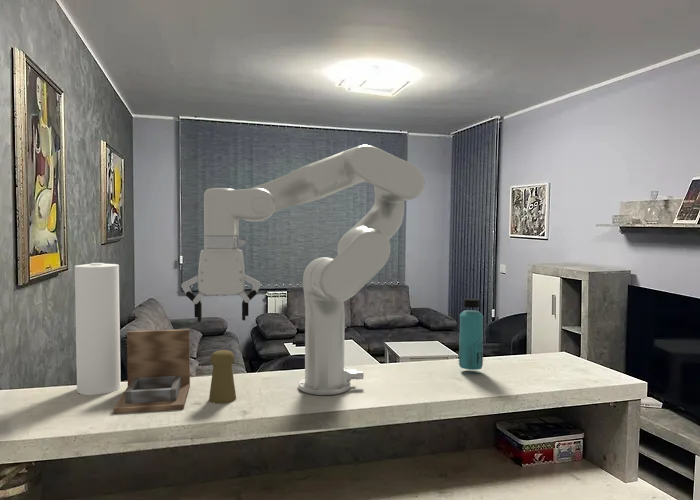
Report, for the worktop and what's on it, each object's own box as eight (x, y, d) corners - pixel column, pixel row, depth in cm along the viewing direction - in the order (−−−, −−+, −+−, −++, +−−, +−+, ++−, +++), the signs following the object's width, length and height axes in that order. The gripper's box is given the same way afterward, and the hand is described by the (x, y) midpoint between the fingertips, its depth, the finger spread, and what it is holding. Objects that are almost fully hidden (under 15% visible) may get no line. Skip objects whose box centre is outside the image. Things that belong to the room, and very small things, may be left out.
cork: (233, 403, 117) (233, 354, 116) (205, 403, 116) (205, 354, 116) (238, 394, 123) (238, 347, 122) (212, 394, 123) (212, 347, 122)
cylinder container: (82, 397, 120) (80, 265, 118) (72, 387, 127) (70, 262, 125) (125, 389, 126) (123, 263, 124) (114, 380, 133) (112, 261, 131)
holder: (189, 386, 129) (189, 329, 128) (183, 409, 113) (183, 344, 112) (128, 389, 126) (127, 331, 125) (113, 413, 110) (112, 347, 109)
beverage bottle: (478, 376, 139) (480, 301, 137) (454, 372, 142) (455, 299, 141) (486, 371, 144) (487, 298, 143) (462, 367, 148) (464, 296, 146)
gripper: (260, 243, 123) (260, 316, 124) (182, 243, 120) (183, 318, 120) (261, 244, 116) (261, 322, 117) (179, 244, 112) (179, 324, 113)
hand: (221, 320), depth 119 cm, fingers open, 9 cm apart
